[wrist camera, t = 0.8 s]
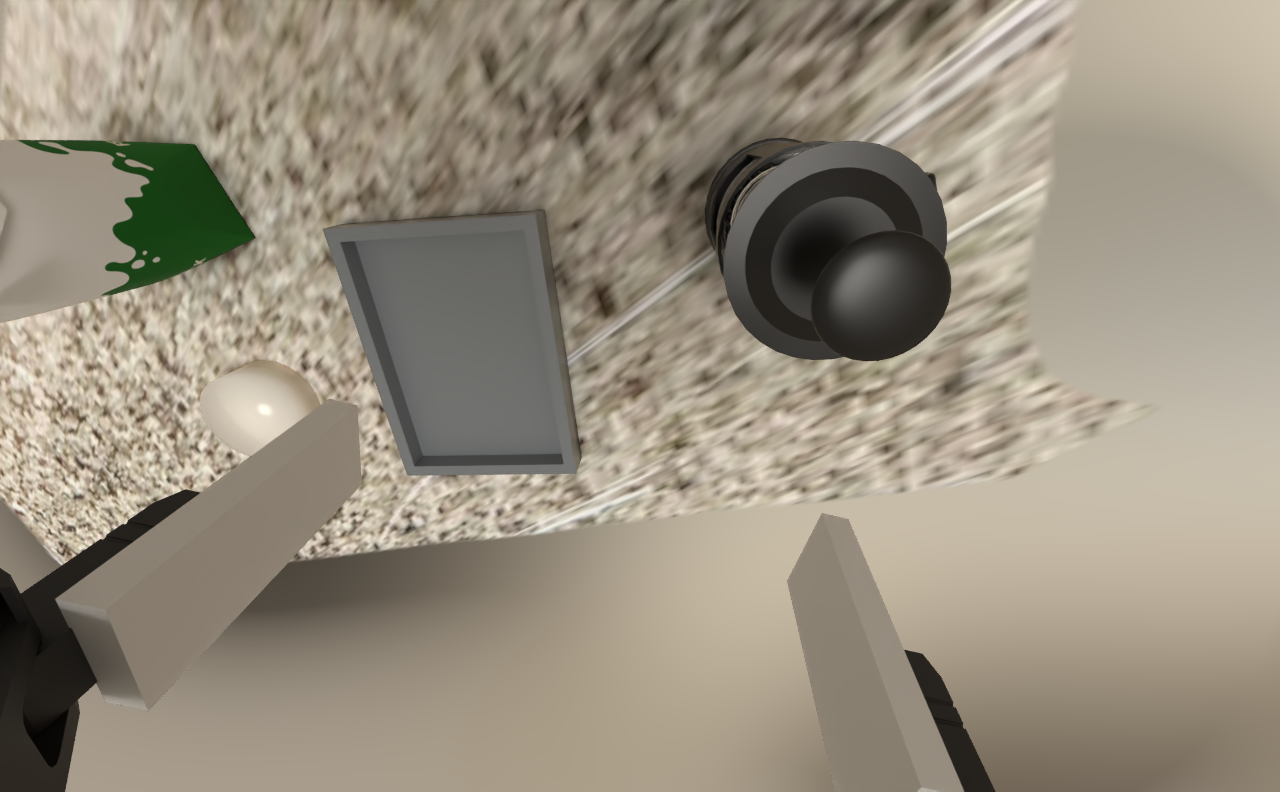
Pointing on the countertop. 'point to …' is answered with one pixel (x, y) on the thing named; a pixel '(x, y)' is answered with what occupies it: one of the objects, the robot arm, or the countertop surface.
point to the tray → (463, 340)
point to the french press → (830, 247)
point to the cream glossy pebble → (256, 404)
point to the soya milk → (104, 219)
